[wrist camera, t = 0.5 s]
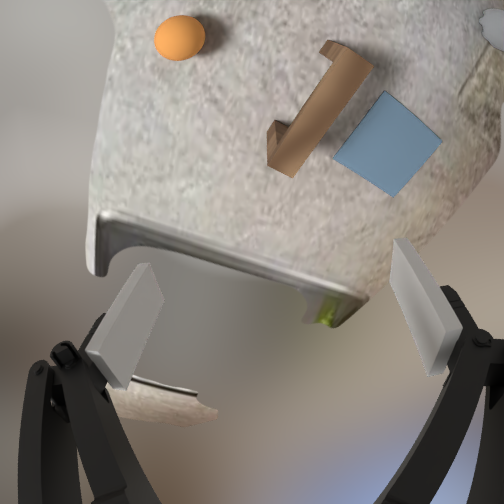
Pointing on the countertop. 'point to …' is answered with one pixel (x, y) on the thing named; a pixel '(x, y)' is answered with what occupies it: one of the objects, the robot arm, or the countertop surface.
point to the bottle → (493, 27)
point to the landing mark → (388, 145)
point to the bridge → (316, 110)
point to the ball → (179, 38)
